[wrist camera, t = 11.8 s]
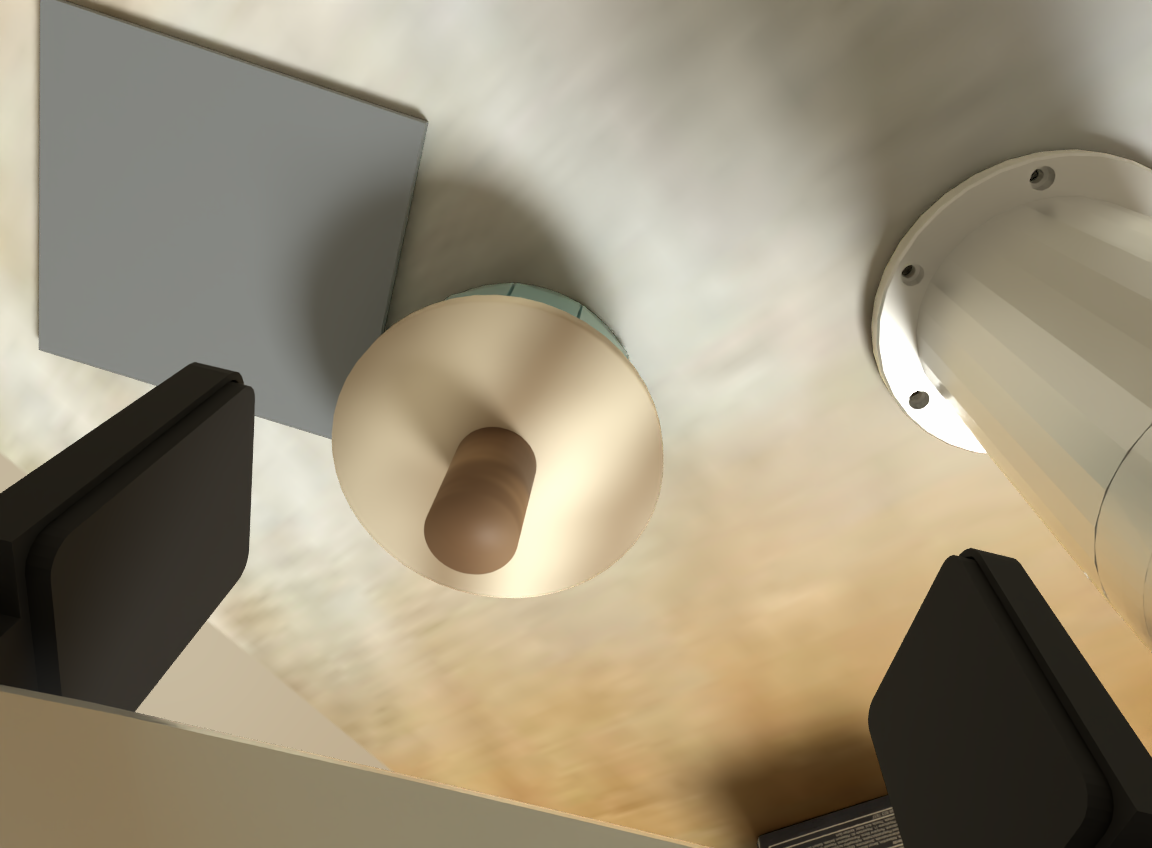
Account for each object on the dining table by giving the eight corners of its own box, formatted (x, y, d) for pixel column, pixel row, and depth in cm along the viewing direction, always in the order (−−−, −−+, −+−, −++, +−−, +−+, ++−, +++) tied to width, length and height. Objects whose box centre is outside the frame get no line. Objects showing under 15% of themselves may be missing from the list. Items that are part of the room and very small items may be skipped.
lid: (711, 355, 30) (726, 426, 24) (605, 617, 36) (598, 721, 30) (371, 249, 29) (309, 298, 24) (318, 534, 35) (258, 626, 29)
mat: (428, 121, 32) (424, 123, 31) (360, 441, 38) (356, 447, 38) (50, -5, 31) (39, -5, 30) (47, 345, 37) (38, 349, 37)
